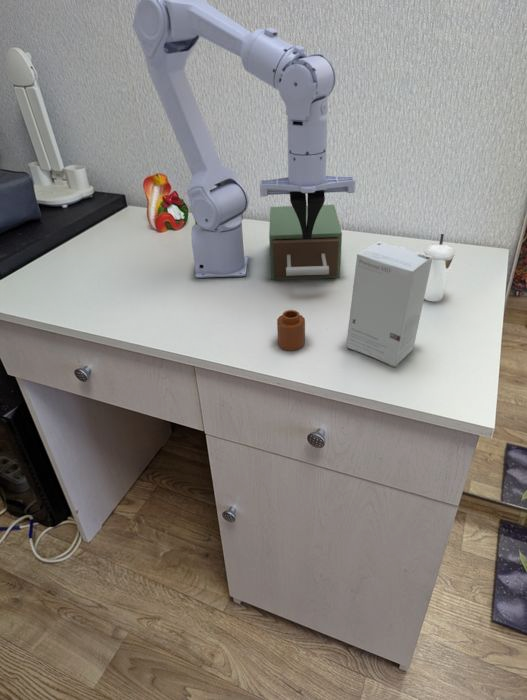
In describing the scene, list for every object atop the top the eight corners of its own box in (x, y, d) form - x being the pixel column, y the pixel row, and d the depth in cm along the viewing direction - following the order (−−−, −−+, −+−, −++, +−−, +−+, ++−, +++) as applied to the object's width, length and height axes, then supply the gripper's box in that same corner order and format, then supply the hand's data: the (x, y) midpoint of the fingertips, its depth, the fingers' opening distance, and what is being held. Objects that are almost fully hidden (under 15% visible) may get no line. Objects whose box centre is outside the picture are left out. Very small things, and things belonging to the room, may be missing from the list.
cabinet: (339, 277, 90) (342, 232, 85) (271, 279, 90) (269, 235, 86) (332, 245, 102) (334, 204, 97) (271, 247, 102) (270, 206, 97)
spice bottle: (278, 351, 72) (276, 322, 69) (278, 335, 75) (277, 307, 72) (305, 350, 72) (305, 321, 69) (304, 335, 75) (304, 306, 72)
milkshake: (447, 290, 84) (457, 234, 79) (445, 305, 80) (456, 248, 74) (419, 287, 86) (428, 232, 80) (416, 301, 82) (425, 245, 76)
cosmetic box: (345, 348, 72) (351, 253, 63) (366, 330, 75) (375, 238, 67) (398, 369, 67) (412, 270, 59) (418, 348, 71) (434, 252, 62)
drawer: (341, 294, 83) (343, 257, 79) (273, 296, 84) (272, 259, 80) (330, 245, 99) (332, 213, 96) (274, 247, 100) (273, 215, 96)
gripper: (257, 159, 70) (262, 248, 78) (359, 155, 70) (354, 245, 77) (259, 147, 76) (263, 231, 84) (353, 143, 75) (348, 228, 83)
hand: (306, 237), depth 81 cm, fingers closed
